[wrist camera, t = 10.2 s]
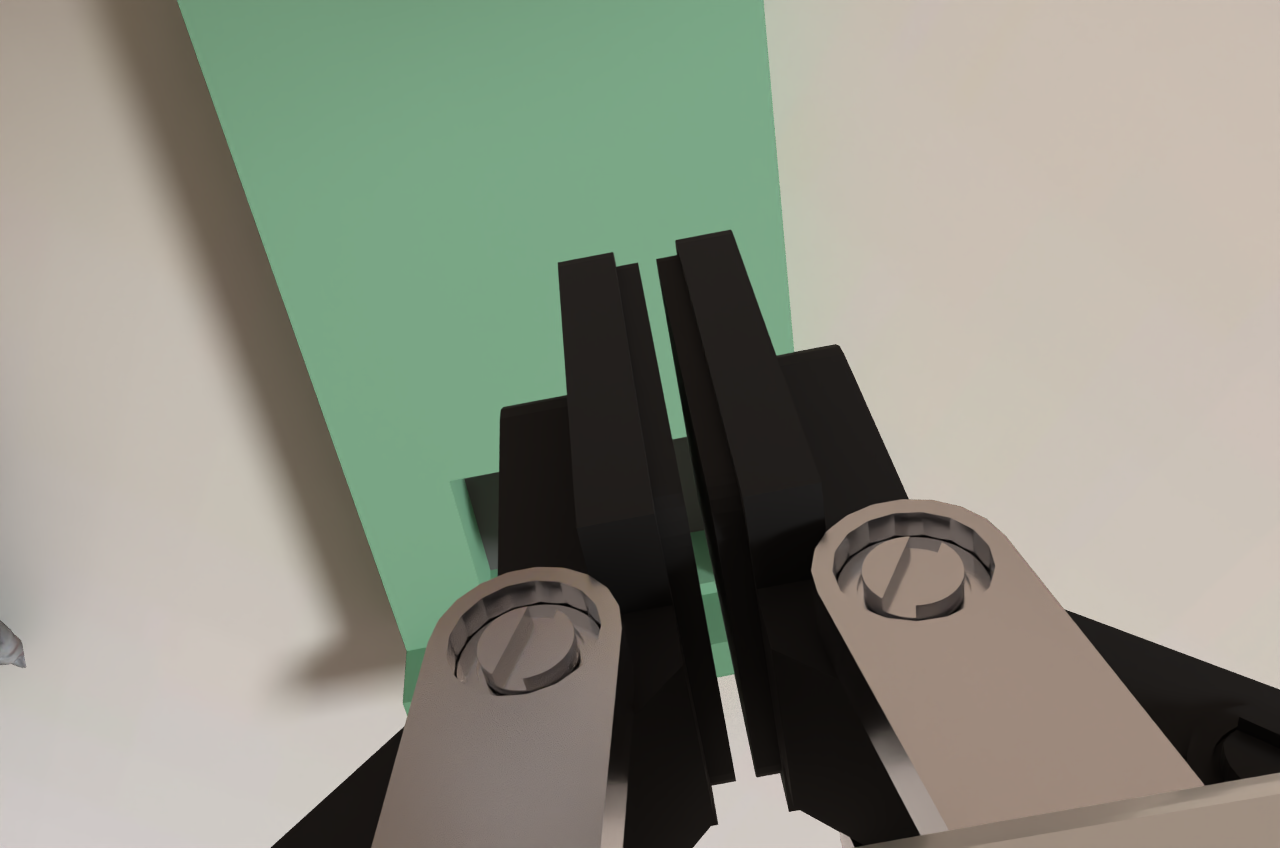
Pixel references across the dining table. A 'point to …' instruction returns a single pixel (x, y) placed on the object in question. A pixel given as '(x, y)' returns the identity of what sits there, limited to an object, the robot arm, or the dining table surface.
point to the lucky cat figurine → (10, 648)
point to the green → (483, 226)
